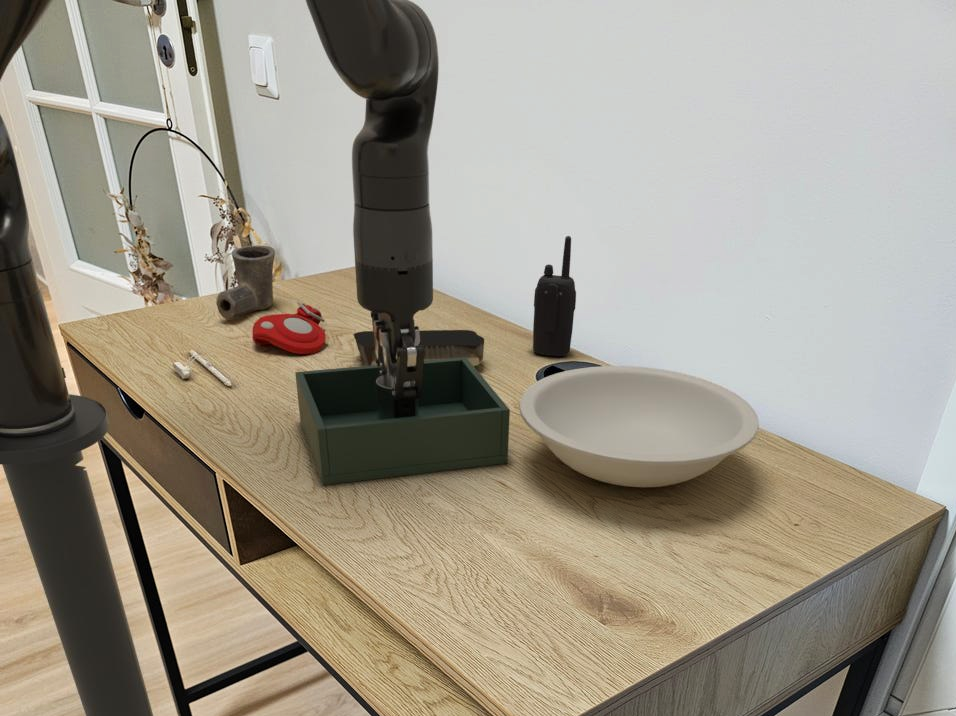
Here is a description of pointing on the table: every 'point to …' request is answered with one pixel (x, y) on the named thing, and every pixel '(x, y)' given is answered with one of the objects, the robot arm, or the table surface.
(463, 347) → the bristle scrub brush
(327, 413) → the bin
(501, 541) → the table surface
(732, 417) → the soup bowl
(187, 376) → the picture light
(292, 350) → the tracker holder
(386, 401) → the metal cylinder
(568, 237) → the two-way radio
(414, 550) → the table surface
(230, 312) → the pipe
